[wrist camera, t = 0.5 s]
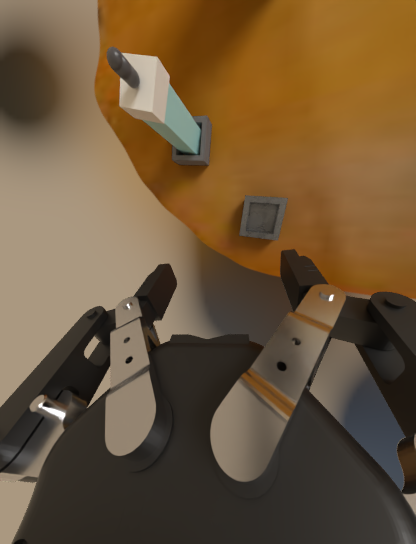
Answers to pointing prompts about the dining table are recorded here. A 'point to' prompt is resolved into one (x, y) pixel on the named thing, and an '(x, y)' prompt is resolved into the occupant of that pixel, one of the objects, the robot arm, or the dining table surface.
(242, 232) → the tray
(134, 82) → the plug
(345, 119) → the dining table surface
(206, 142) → the holster
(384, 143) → the dining table surface
